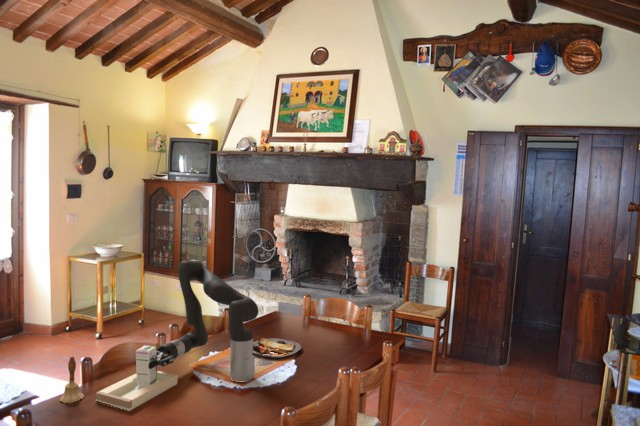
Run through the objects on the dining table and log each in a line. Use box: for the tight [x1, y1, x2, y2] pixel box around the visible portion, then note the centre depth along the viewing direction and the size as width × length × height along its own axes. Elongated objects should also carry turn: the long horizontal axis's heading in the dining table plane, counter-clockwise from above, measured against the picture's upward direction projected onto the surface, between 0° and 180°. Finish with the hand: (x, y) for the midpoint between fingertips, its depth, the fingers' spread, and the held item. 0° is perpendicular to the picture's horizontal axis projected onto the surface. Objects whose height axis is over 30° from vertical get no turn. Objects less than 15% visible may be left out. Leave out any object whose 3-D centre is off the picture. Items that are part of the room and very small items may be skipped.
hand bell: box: [59, 356, 85, 402], centre depth 187 cm, size 8×8×16 cm
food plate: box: [253, 337, 302, 358], centre depth 243 cm, size 25×23×4 cm
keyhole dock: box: [95, 370, 178, 412], centre depth 194 cm, size 26×16×4 cm, turn 156°
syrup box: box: [135, 345, 158, 387], centre depth 198 cm, size 6×6×14 cm
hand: (142, 364), depth 196 cm, fingers closed on syrup box, 6 cm apart
